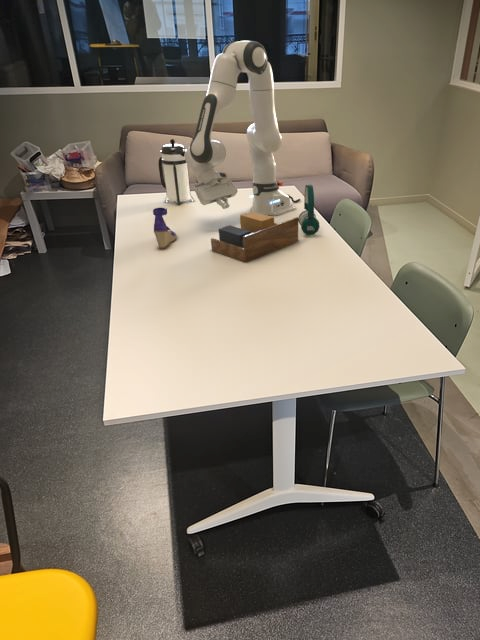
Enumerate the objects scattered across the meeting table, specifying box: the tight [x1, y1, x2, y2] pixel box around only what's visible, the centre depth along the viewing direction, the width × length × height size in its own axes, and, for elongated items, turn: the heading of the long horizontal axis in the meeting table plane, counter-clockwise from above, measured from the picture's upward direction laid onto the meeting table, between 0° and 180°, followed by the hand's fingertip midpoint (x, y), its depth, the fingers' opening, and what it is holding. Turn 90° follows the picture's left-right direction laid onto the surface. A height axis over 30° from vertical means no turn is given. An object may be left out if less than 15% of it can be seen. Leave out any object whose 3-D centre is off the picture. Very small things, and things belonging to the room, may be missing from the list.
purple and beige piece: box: [152, 207, 177, 250], centre depth 210 cm, size 8×20×15 cm, turn 174°
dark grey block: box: [218, 225, 251, 248], centre depth 204 cm, size 20×7×8 cm, turn 50°
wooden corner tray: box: [210, 216, 299, 263], centre depth 208 cm, size 20×32×10 cm, turn 140°
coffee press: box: [158, 138, 195, 206], centre depth 257 cm, size 17×16×30 cm
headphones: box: [298, 184, 320, 236], centre depth 220 cm, size 8×15×20 cm, turn 5°
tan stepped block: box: [239, 210, 275, 233], centre depth 213 cm, size 20×8×10 cm, turn 48°
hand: (226, 207), depth 224 cm, fingers closed
